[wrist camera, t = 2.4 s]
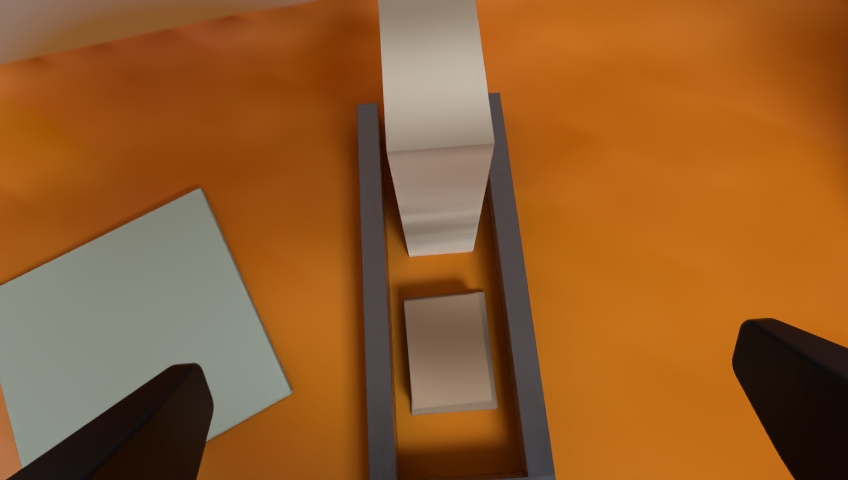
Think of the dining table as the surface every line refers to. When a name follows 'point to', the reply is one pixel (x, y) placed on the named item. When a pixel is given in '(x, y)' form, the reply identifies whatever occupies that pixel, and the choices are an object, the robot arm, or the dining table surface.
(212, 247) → the mat
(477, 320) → the upper offcut
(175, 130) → the dining table surface
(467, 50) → the beige rectangular block
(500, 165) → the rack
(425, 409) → the block
